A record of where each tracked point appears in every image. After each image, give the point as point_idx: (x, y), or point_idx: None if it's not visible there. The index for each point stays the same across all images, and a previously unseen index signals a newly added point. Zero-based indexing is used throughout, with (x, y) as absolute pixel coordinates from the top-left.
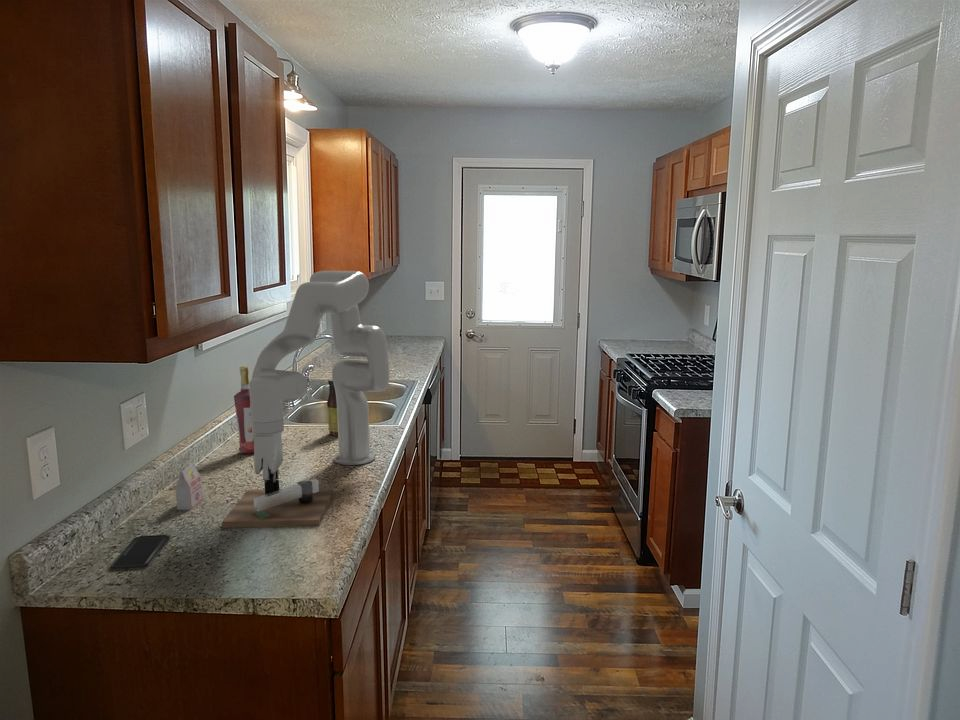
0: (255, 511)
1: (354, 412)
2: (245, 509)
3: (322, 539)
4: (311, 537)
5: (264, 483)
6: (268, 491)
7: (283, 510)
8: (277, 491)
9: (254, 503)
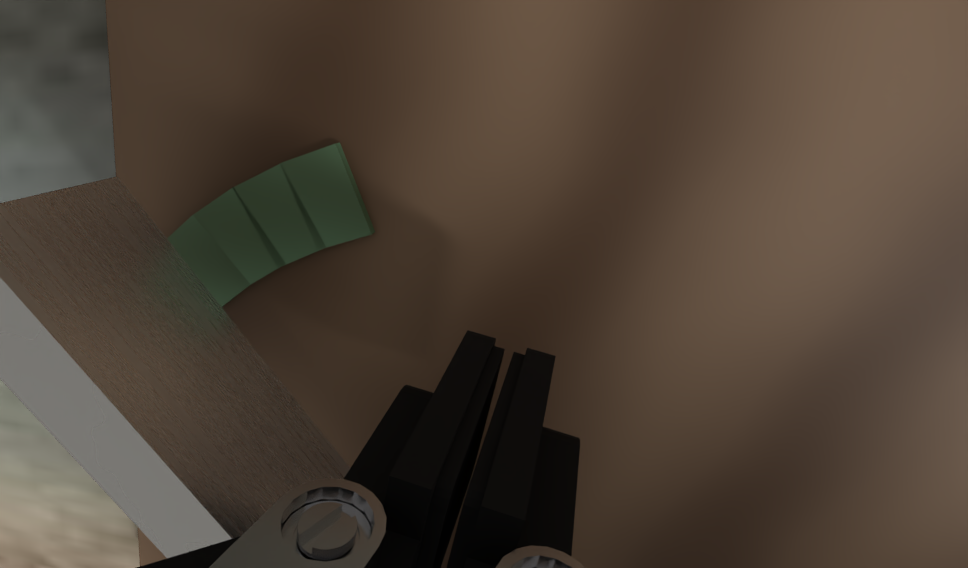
0: (333, 164)
1: None
2: (449, 28)
3: (4, 535)
4: (21, 494)
5: (401, 458)
6: (390, 418)
7: (337, 421)
8: (207, 543)
9: (21, 206)
